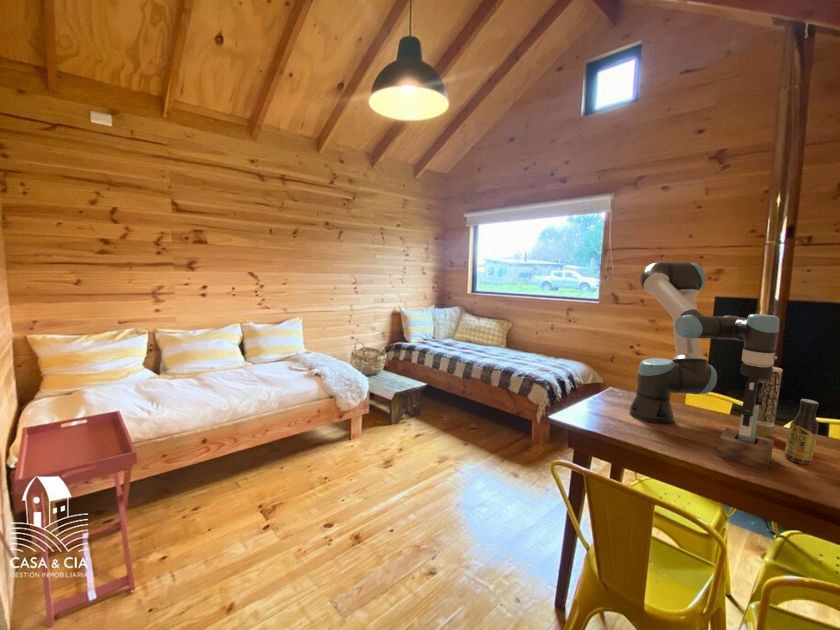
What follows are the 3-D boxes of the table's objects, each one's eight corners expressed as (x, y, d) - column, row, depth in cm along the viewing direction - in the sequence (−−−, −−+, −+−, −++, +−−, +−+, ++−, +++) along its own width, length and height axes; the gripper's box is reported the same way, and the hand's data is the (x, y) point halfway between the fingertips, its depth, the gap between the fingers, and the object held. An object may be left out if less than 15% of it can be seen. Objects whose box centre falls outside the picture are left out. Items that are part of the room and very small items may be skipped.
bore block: (717, 455, 124) (719, 437, 123) (724, 444, 132) (726, 427, 131) (766, 470, 115) (769, 451, 115) (771, 457, 124) (773, 439, 123)
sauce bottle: (778, 455, 125) (787, 396, 122) (796, 455, 125) (805, 396, 123) (800, 466, 118) (810, 404, 116) (818, 465, 119) (828, 404, 116)
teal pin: (735, 450, 124) (741, 408, 122) (737, 446, 126) (743, 405, 125) (751, 454, 121) (757, 412, 119) (753, 451, 123) (759, 409, 122)
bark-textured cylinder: (776, 439, 138) (787, 371, 134) (755, 436, 139) (765, 369, 135) (763, 431, 144) (773, 366, 141) (743, 429, 145) (752, 364, 142)
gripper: (768, 373, 109) (758, 445, 111) (777, 360, 126) (768, 422, 128) (734, 368, 114) (725, 436, 117) (747, 356, 131) (739, 415, 134)
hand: (747, 429), depth 123 cm, fingers open, 13 cm apart
